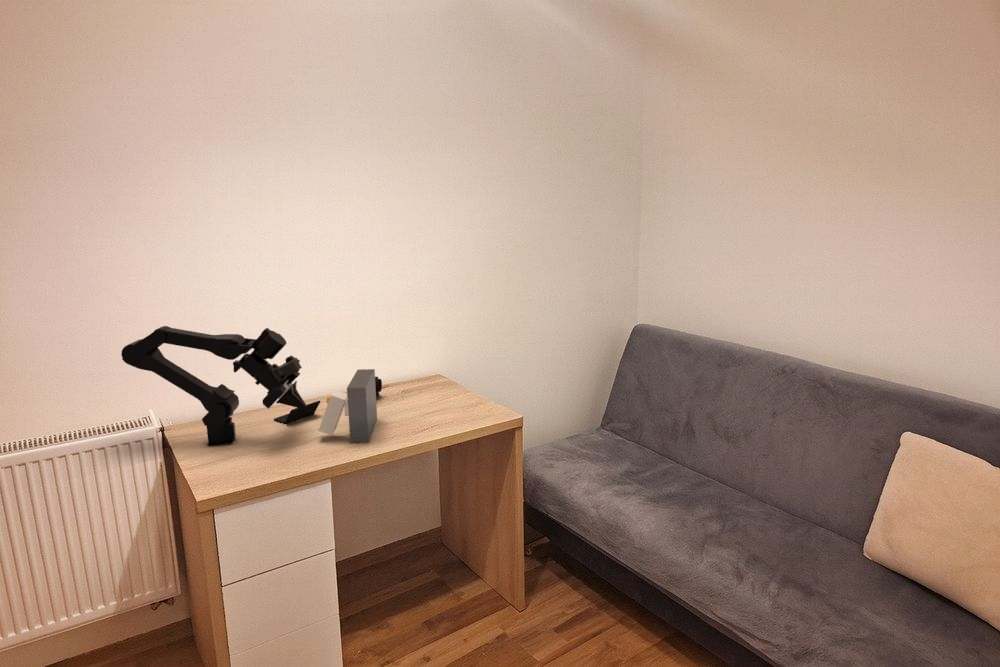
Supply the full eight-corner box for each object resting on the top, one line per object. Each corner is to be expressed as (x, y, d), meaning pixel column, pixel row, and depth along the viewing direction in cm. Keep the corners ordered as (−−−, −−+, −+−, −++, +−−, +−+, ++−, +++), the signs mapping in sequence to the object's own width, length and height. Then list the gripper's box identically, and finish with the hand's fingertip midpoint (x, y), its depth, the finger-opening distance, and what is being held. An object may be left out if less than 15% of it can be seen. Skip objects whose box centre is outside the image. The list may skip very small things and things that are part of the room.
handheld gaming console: (296, 405, 205) (307, 385, 200) (312, 420, 204) (324, 400, 199) (270, 422, 196) (280, 401, 190) (287, 438, 195) (298, 417, 189)
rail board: (346, 443, 178) (343, 388, 175) (357, 420, 196) (354, 369, 192) (368, 442, 179) (365, 387, 175) (377, 420, 196) (374, 369, 193)
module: (315, 429, 179) (328, 394, 177) (319, 423, 184) (331, 388, 182) (332, 435, 179) (345, 400, 177) (335, 428, 184) (348, 394, 182)
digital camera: (375, 406, 209) (374, 385, 207) (358, 406, 209) (357, 385, 208) (382, 396, 219) (381, 376, 217) (366, 395, 219) (365, 376, 218)
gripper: (271, 358, 167) (317, 398, 170) (290, 341, 185) (331, 378, 188) (242, 388, 168) (289, 427, 171) (264, 369, 186) (306, 404, 189)
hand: (305, 407), depth 180 cm, fingers closed
